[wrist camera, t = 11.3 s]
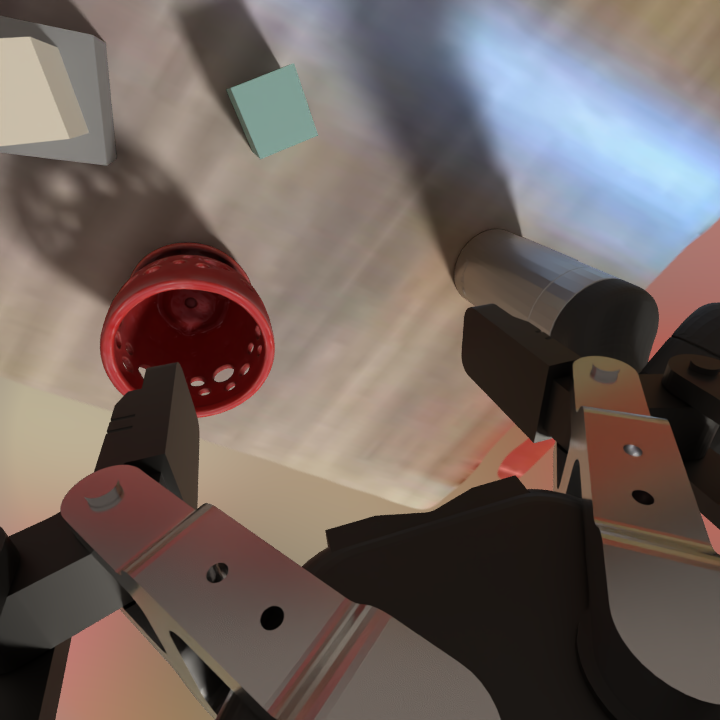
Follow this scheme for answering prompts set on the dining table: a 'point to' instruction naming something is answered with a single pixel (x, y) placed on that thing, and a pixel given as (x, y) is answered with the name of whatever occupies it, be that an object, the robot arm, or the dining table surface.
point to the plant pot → (190, 326)
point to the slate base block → (90, 88)
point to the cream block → (36, 94)
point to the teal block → (273, 111)
